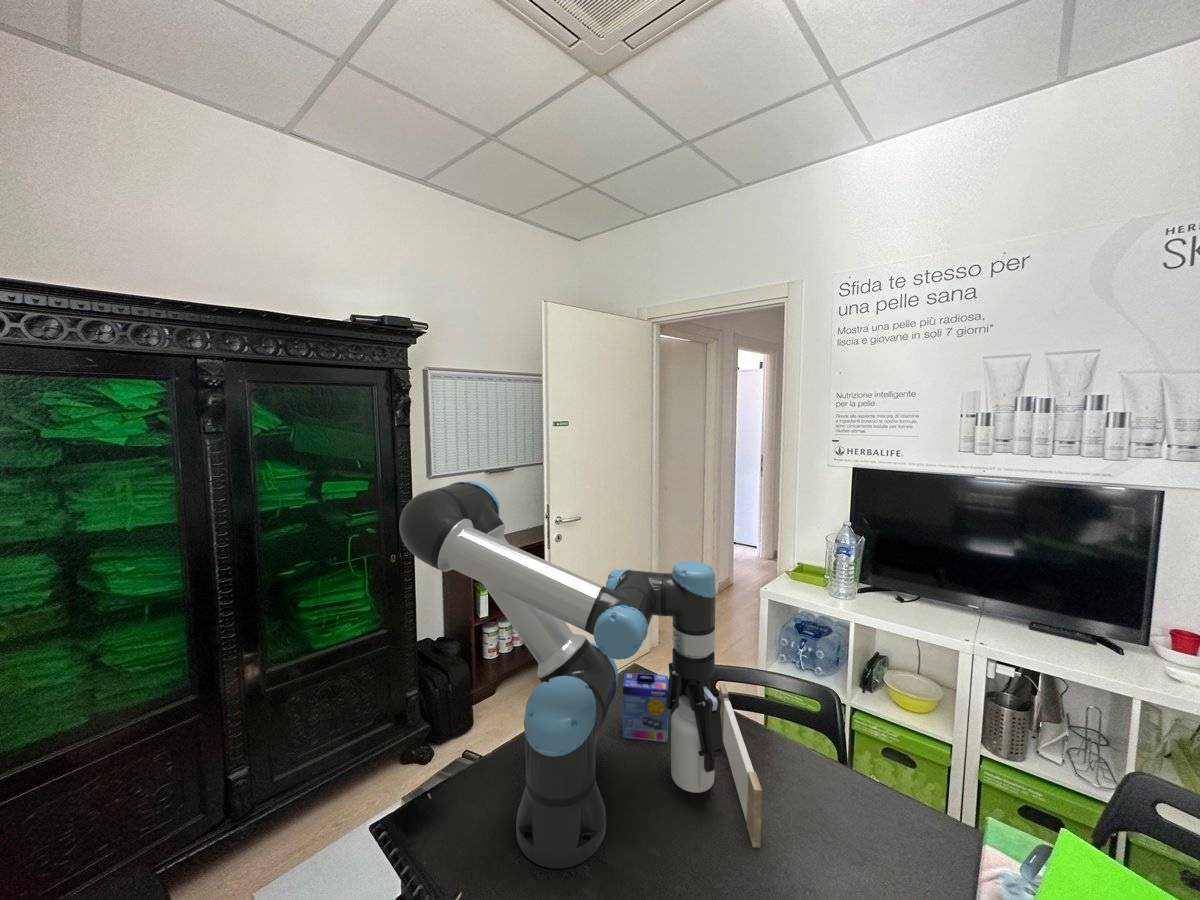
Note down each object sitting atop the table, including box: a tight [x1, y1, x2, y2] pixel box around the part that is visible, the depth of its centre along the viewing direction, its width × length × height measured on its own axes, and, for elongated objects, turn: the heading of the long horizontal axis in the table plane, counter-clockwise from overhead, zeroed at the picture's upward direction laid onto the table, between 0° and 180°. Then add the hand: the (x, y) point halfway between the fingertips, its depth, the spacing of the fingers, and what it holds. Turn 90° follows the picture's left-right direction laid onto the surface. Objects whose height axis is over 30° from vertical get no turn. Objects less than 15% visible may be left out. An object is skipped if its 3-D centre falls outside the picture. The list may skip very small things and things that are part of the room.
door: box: [723, 697, 755, 823], centre depth 90 cm, size 1×21×9 cm, turn 176°
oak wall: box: [718, 683, 763, 849], centre depth 90 cm, size 1×29×10 cm, turn 177°
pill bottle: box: [670, 695, 716, 794], centre depth 86 cm, size 8×8×15 cm
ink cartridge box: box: [622, 672, 669, 743], centre depth 102 cm, size 10×6×14 cm, turn 83°
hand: (692, 766), depth 87 cm, fingers closed on pill bottle, 8 cm apart
